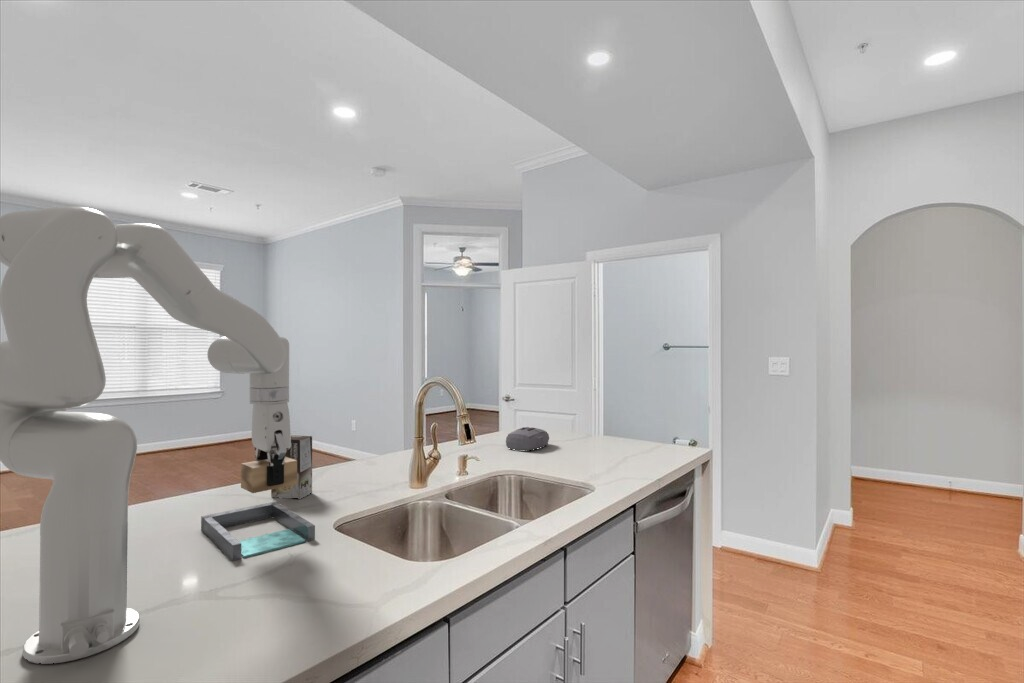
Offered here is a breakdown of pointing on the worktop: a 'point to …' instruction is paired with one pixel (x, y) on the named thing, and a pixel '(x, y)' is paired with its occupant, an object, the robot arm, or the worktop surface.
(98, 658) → the worktop surface
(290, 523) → the bay
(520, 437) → the grey rounded bag
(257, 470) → the tan cardboard box
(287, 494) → the coffee box
